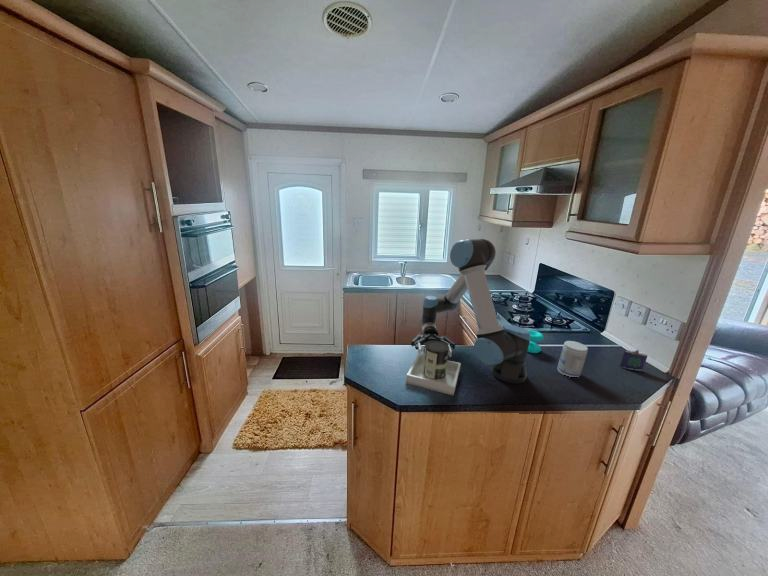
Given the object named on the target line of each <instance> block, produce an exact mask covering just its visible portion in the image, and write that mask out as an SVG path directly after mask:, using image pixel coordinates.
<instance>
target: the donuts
mask: <svg viewBox="0 0 768 576" xmlns="http://www.w3.org/2000/svg"><path fill="white" fill-rule="evenodd" d="M526 330H527V331H529V333H530V342H529V347H528V351H527V353H531V354H538V353H541V351H542V347H541V346H540V345H539V344H538V342H542V341H543V340H544V339H545V338H544V337H545V336H544V335H543V333H541V332H540V331H537V330H533V329H526Z"/></svg>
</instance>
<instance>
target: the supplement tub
mask: <svg viewBox="0 0 768 576" xmlns="http://www.w3.org/2000/svg"><path fill="white" fill-rule="evenodd" d="M588 350H589V348H588V346H586V345H585V344H583V343H581V342H579V341H573V340H566V341H564V343H563V346H562V348H561V351H560V356H559V360H558V363H557V371H558V372H559V373H560V374H561V375H562V376H564V375H566V376H565V377H567V376H569V377H568V378H570V377H578V378H580V377H581V375H582V371H583V368H584V364H585V361H586V358H587V355H588ZM579 376H580V377H579Z"/></svg>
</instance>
